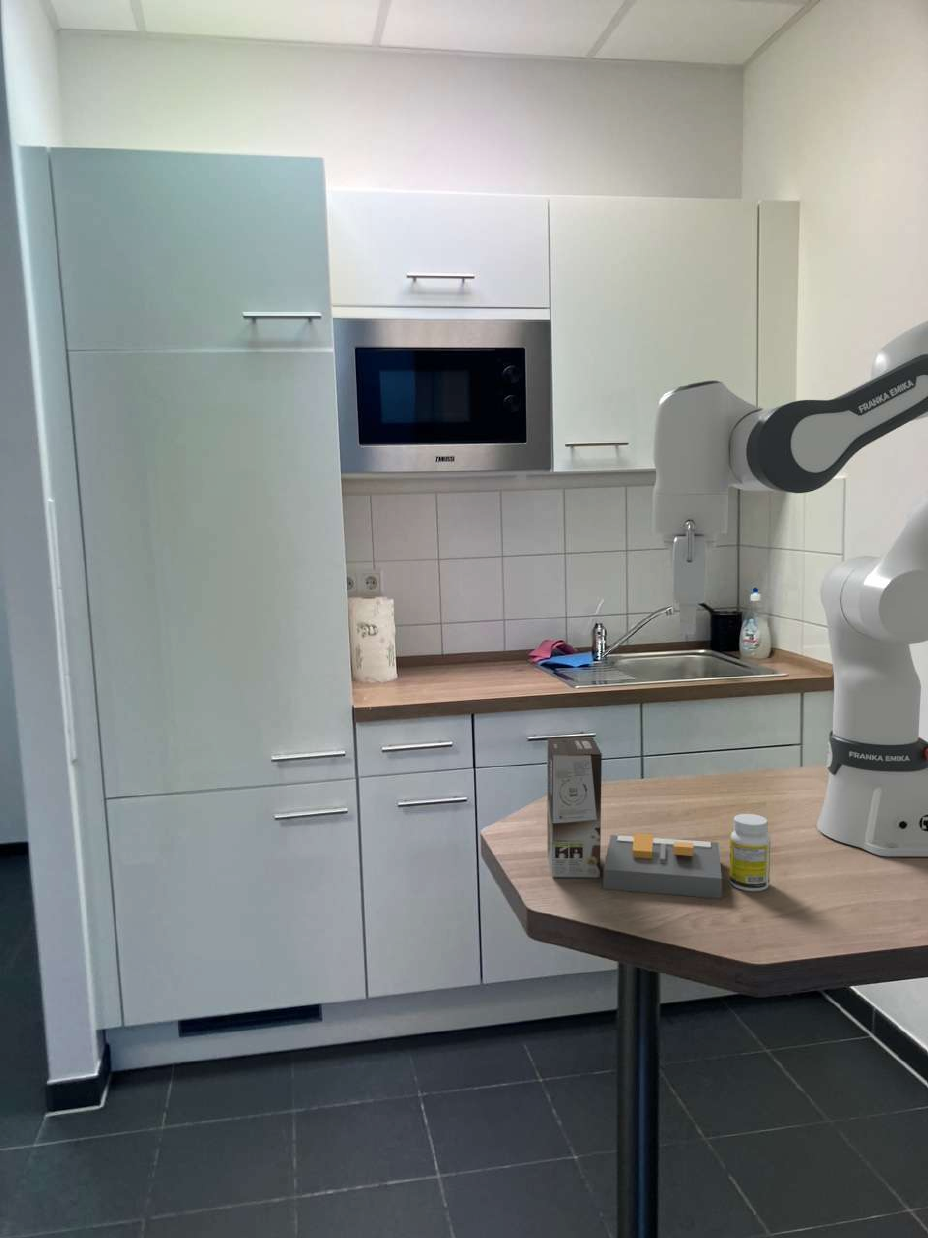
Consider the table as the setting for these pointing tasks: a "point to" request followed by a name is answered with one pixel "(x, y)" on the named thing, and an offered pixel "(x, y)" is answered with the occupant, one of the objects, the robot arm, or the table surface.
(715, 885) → the switch strip
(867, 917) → the table surface
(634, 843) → the paddle
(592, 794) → the coffee box
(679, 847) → the orange rectangular block
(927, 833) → the robot arm
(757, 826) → the supplement bottle
